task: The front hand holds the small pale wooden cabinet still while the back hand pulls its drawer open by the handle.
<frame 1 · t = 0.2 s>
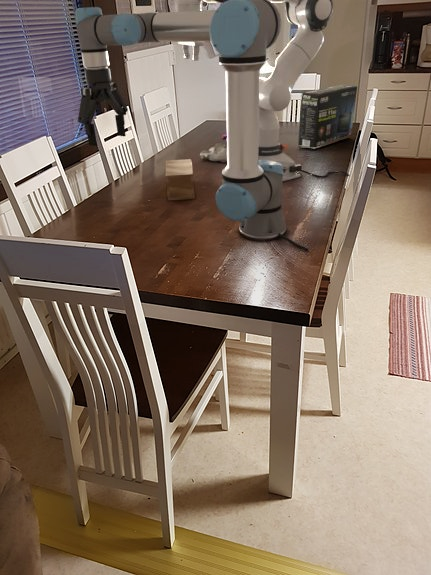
front hand: (108, 140, 148), 28 cm above the table, tool pointing down, fingers open, 13 cm apart
back hand: (191, 59, 165), 48 cm above the table, tool pointing down, fingers open, 8 cm apart
router box: (325, 143, 245), on the table
fossil: (217, 158, 227), on the table
handgun: (233, 140, 257), on the table
drawer: (179, 174, 190), point 5 cm above the table, slide at 1.4 cm
cabinet: (180, 190, 187), on the table
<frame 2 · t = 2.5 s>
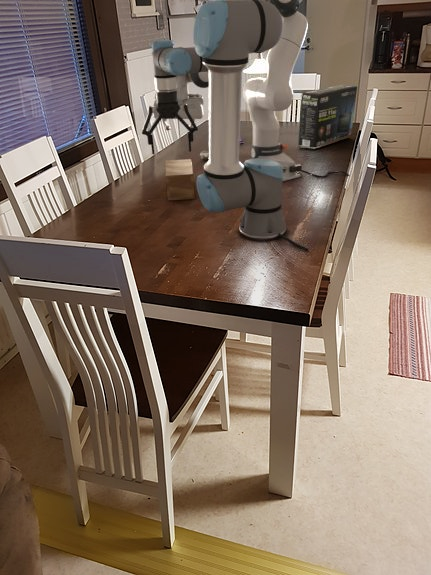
front hand: (171, 152, 170), 18 cm above the table, tool pointing down, fingers open, 13 cm apart
back hand: (179, 130, 188), 21 cm above the table, tool pointing down, fingers open, 8 cm apart
nothing on the table moved.
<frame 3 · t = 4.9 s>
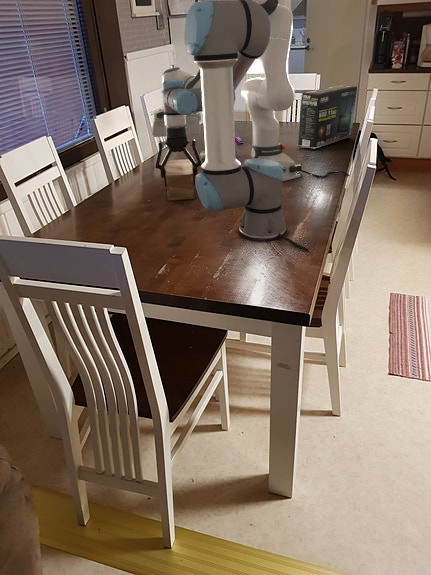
front hand: (180, 184, 179), 5 cm above the table, tool pointing down, fingers closed on cabinet, 10 cm apart
back hand: (177, 146, 194), 14 cm above the table, tool pointing down, fingers closed
cabinet: (180, 190, 187), on the table, touching front hand
everything else where it was.
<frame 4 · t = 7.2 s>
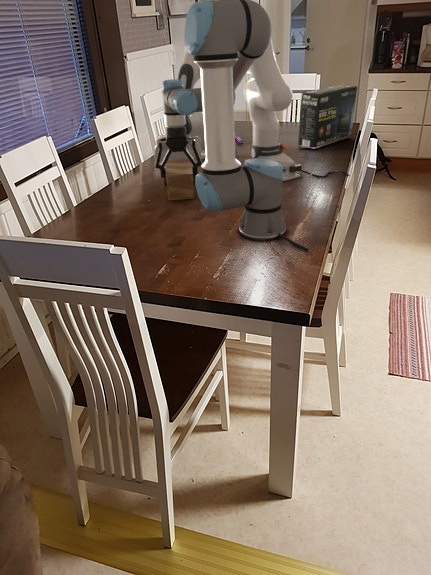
front hand: (180, 184, 179), 5 cm above the table, tool pointing down, fingers closed on cabinet, 10 cm apart
back hand: (179, 169, 200), 4 cm above the table, tool pointing down, fingers closed, pressing on drawer
drawer: (179, 174, 191), point 5 cm above the table, slide at 2.2 cm, touching back hand
cabinet: (180, 190, 187), on the table, touching front hand
everything else where it was.
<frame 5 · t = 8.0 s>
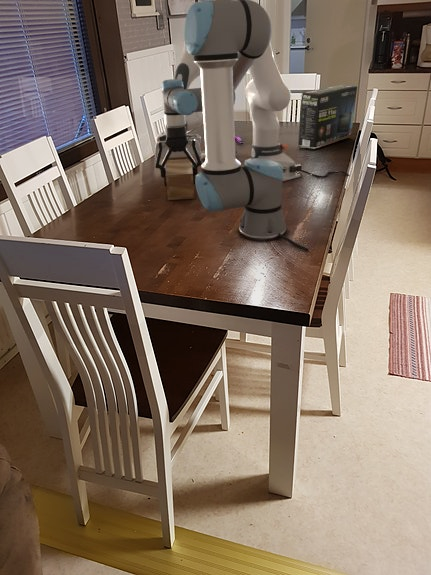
front hand: (180, 184, 179), 5 cm above the table, tool pointing down, fingers closed on cabinet, 10 cm apart
back hand: (179, 167, 204), 4 cm above the table, tool pointing down, fingers closed, pressing on drawer
drawer: (179, 170, 194), point 5 cm above the table, slide at 6.4 cm, touching back hand
cabinet: (180, 190, 187), on the table, touching front hand
everything else where it was.
when the front hand's fingers open (5 cm above the table, at t = 9.9 s): cabinet stays where it is, on the table.
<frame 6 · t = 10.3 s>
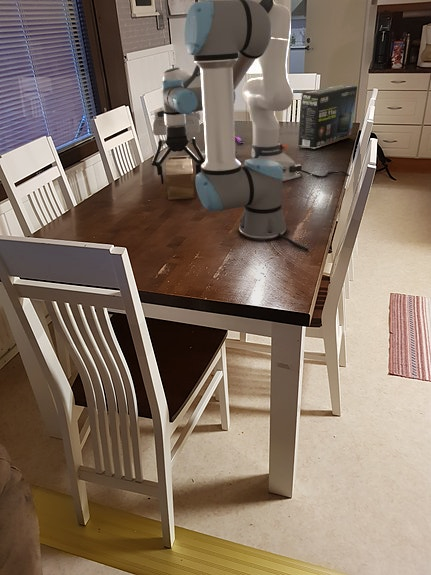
front hand: (180, 182, 178), 6 cm above the table, tool pointing down, fingers open, 13 cm apart
back hand: (177, 144, 198), 14 cm above the table, tool pointing down, fingers closed
drawer: (179, 170, 195), point 5 cm above the table, slide at 6.8 cm
cabinet: (181, 190, 188), on the table
everything else where it was.
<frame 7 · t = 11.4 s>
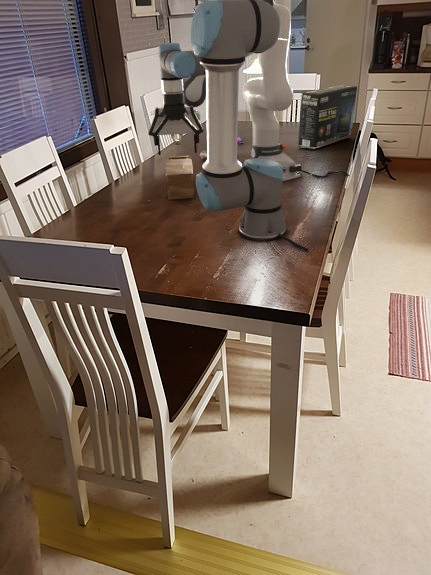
front hand: (177, 153, 173), 17 cm above the table, tool pointing down, fingers open, 13 cm apart
back hand: (177, 144, 198), 14 cm above the table, tool pointing down, fingers closed
nothing on the table moved.
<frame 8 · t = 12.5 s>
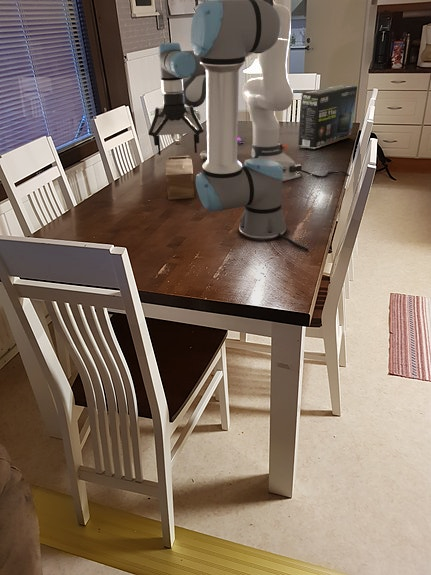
front hand: (177, 153, 173), 17 cm above the table, tool pointing down, fingers open, 13 cm apart
back hand: (177, 144, 198), 14 cm above the table, tool pointing down, fingers closed
nothing on the table moved.
at the end: drawer slide at 6.8 cm; cabinet tilted 0°; cabinet never tilted more than 6° during the clip; cabinet moved 1.0 cm from its start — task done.
